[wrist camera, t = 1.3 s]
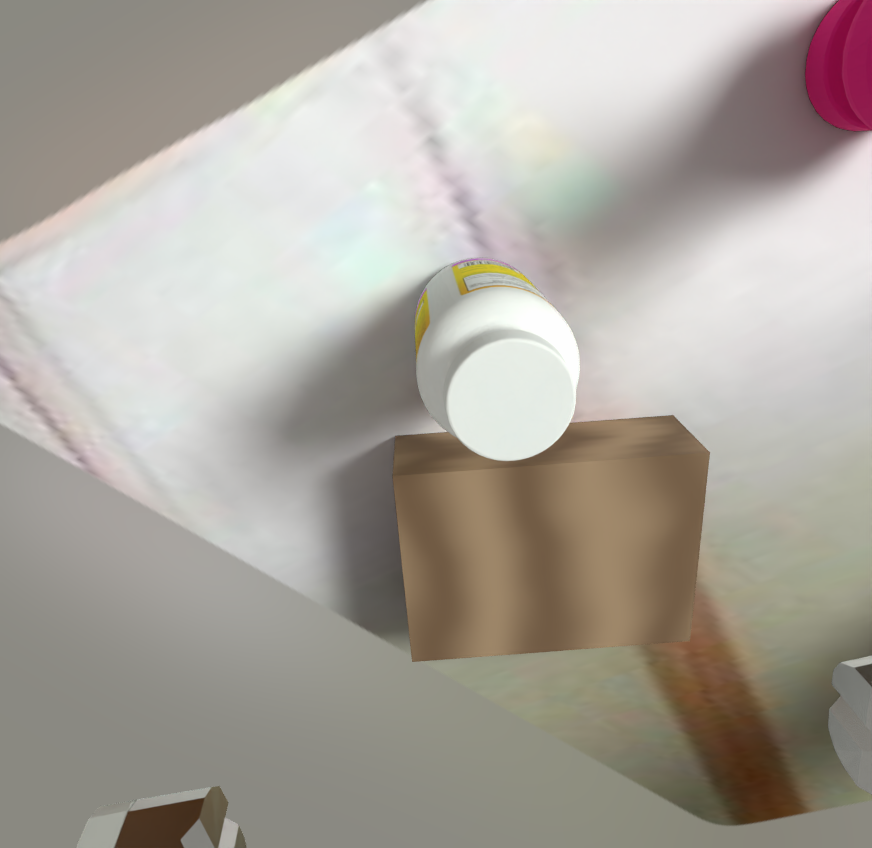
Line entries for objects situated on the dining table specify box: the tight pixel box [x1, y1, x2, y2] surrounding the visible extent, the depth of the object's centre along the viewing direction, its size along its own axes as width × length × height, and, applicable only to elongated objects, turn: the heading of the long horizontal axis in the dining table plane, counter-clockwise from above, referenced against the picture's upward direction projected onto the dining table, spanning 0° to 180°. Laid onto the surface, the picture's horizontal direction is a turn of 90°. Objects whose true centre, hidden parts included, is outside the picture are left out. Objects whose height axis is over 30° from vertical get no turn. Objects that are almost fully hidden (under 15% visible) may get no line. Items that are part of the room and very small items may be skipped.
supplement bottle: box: [415, 258, 580, 461], centre depth 29 cm, size 7×7×13 cm
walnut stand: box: [393, 415, 710, 662], centre depth 37 cm, size 16×12×5 cm
